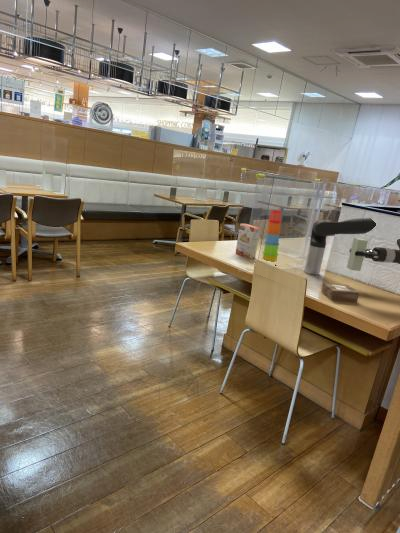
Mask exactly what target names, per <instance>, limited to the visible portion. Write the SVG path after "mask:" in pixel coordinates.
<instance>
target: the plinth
mask: <svg viewBox="0 0 400 533" xmlns="http://www.w3.org/2000/svg"><path fill="white" fill-rule="evenodd" d="M321 293H322V294H324V296H326V297H327V298H328V299H329V300H330V301H338V302H351V303H357V302H358V300H359V296H360V292H358V291H357V290H355V289H354V288H353V287H351V286H350V285H349V284H338V283H329V282H328V283H325V282H323V283H322V288H321Z"/></svg>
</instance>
